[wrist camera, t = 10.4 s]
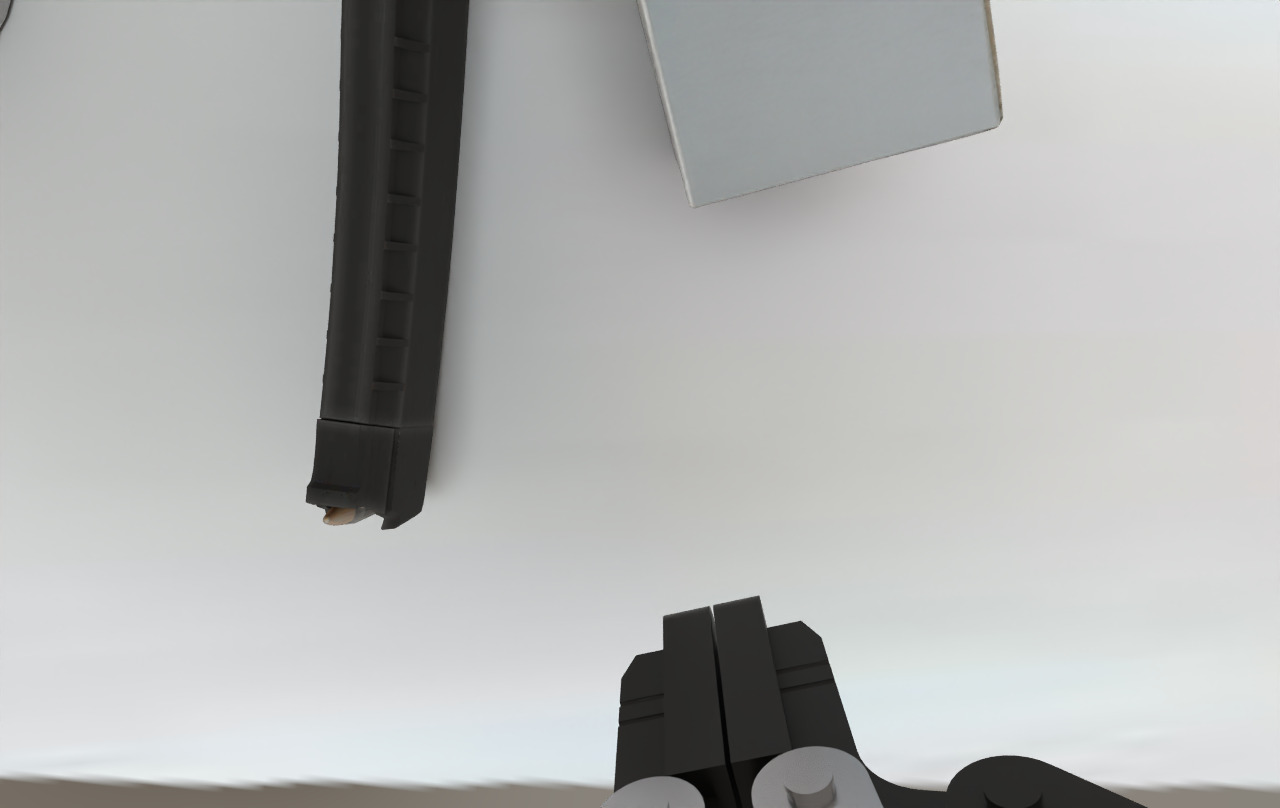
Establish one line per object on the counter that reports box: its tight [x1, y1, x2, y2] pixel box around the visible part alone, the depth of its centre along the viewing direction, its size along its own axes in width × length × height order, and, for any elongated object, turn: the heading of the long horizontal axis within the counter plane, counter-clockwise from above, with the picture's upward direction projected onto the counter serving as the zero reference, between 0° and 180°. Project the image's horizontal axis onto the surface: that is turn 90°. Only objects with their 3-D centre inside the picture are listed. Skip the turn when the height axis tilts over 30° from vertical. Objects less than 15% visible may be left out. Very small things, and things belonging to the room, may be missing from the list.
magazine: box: [306, 0, 469, 530], centre depth 35 cm, size 17×3×30 cm
